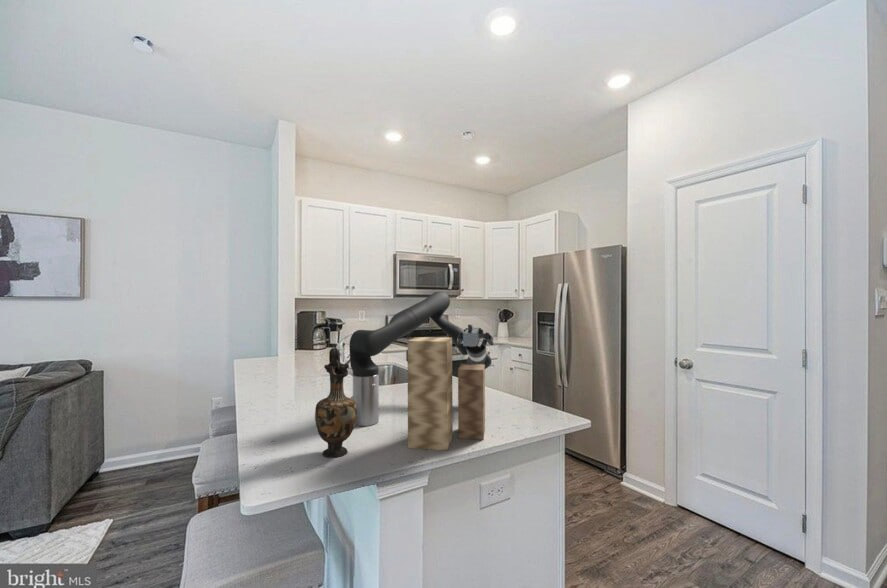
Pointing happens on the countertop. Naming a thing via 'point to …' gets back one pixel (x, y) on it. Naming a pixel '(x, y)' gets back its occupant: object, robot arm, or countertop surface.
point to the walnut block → (471, 401)
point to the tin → (471, 336)
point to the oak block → (430, 393)
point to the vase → (335, 409)
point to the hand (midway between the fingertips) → (473, 330)
